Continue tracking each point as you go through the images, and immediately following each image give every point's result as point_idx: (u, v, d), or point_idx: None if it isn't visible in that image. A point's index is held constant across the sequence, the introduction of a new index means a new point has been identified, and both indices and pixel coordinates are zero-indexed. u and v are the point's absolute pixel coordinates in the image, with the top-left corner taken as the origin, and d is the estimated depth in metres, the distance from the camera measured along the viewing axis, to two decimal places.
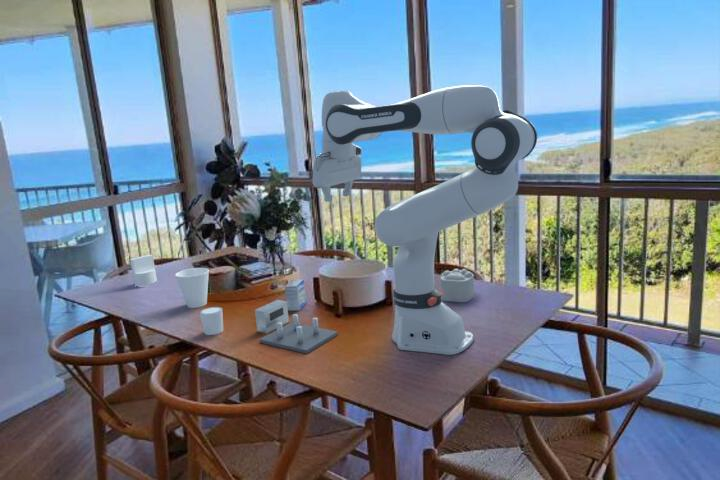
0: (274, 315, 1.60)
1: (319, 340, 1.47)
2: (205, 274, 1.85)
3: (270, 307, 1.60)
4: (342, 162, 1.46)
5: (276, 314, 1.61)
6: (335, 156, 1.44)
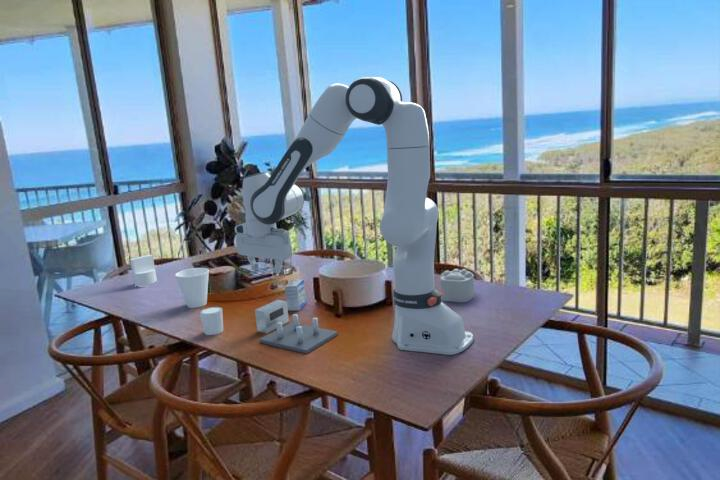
0: (274, 315, 1.60)
1: (319, 340, 1.47)
2: (205, 274, 1.85)
3: (270, 307, 1.60)
4: None
5: (276, 314, 1.61)
6: None
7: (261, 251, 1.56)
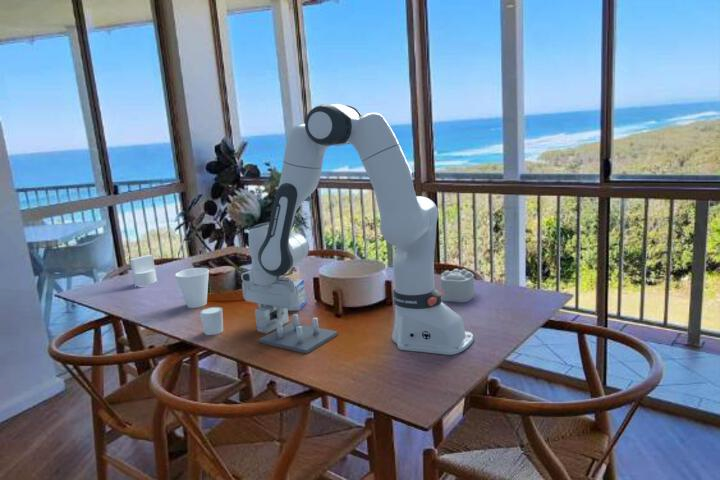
0: (274, 315, 1.60)
1: (319, 340, 1.47)
2: (205, 274, 1.85)
3: (270, 307, 1.60)
4: None
5: None
6: None
7: (267, 298, 1.59)
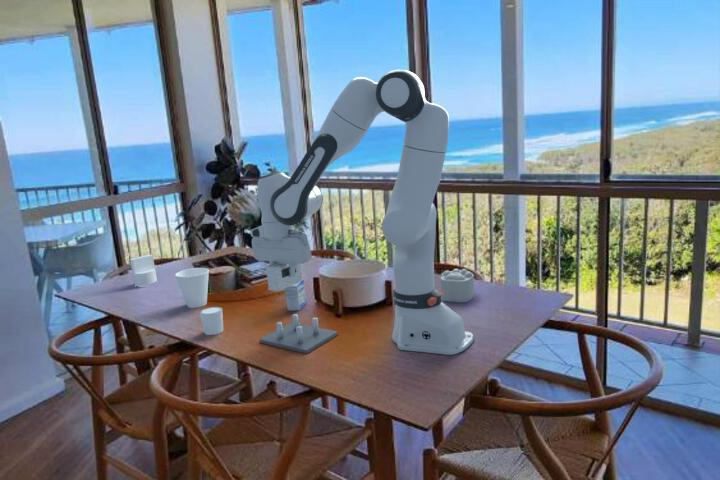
0: (286, 272, 1.50)
1: (319, 340, 1.47)
2: (205, 274, 1.85)
3: (282, 263, 1.50)
4: None
5: None
6: None
7: (279, 254, 1.49)
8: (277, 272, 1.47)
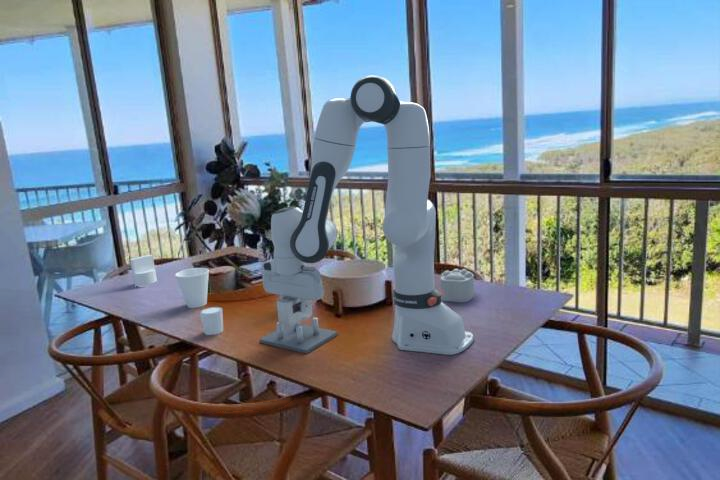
0: (297, 308, 1.48)
1: (319, 340, 1.47)
2: (205, 274, 1.85)
3: (293, 298, 1.48)
4: None
5: None
6: None
7: (290, 290, 1.47)
8: (288, 308, 1.45)
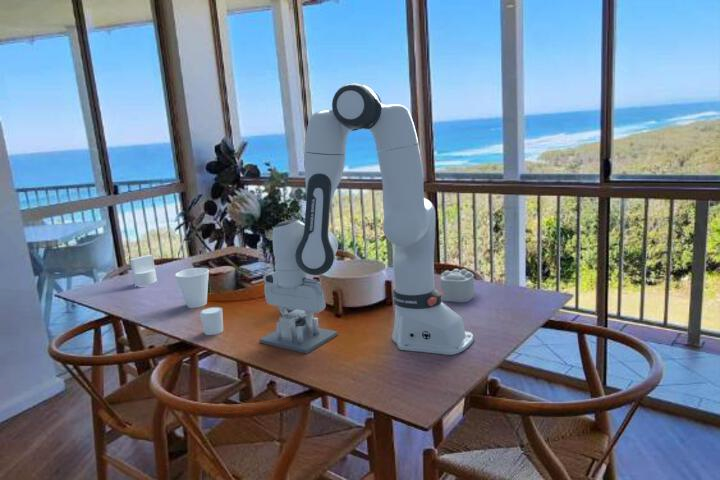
0: (299, 324, 1.49)
1: (319, 340, 1.47)
2: (205, 274, 1.85)
3: (296, 314, 1.49)
4: None
5: (302, 322, 1.50)
6: None
7: (292, 302, 1.48)
8: (291, 324, 1.46)
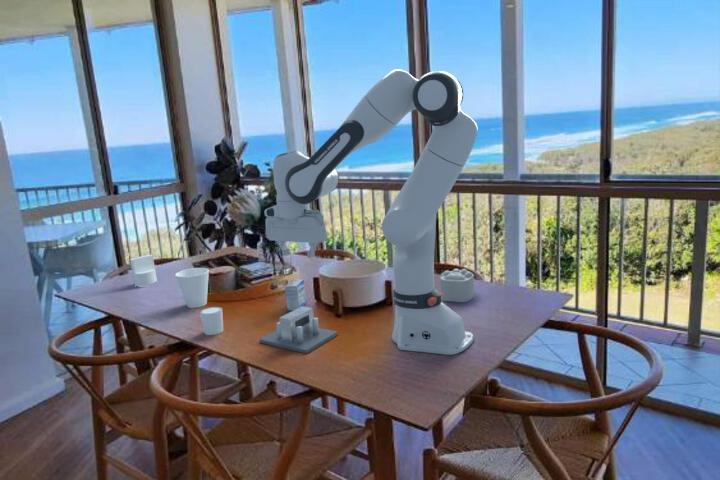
0: (299, 324, 1.49)
1: (319, 340, 1.47)
2: (205, 274, 1.85)
3: (296, 314, 1.49)
4: None
5: (302, 322, 1.50)
6: None
7: (293, 234, 1.48)
8: (291, 324, 1.46)
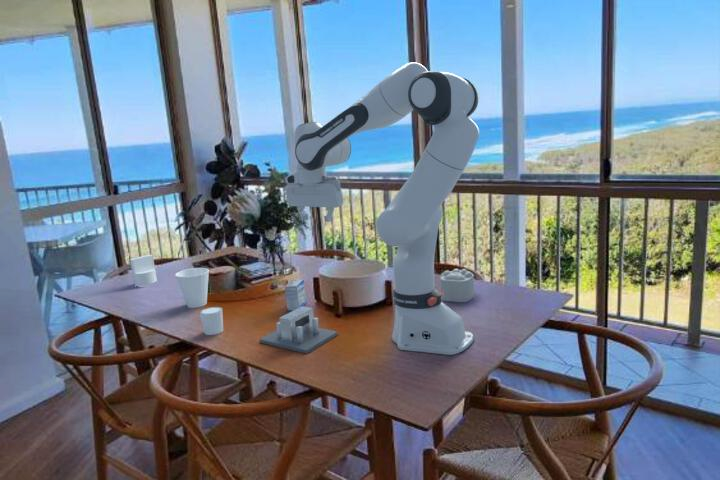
0: (299, 324, 1.49)
1: (319, 340, 1.47)
2: (205, 274, 1.85)
3: (296, 314, 1.49)
4: None
5: (302, 322, 1.50)
6: None
7: (312, 200, 1.60)
8: (291, 324, 1.46)
